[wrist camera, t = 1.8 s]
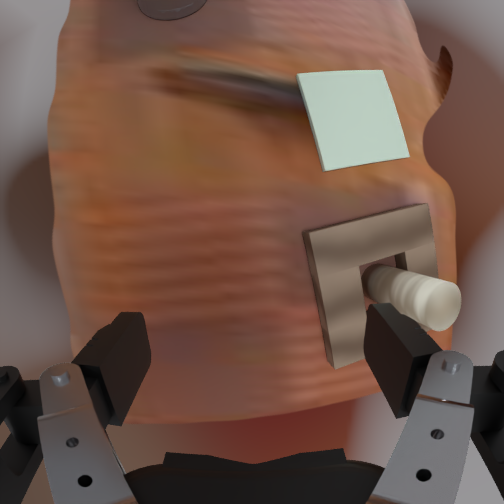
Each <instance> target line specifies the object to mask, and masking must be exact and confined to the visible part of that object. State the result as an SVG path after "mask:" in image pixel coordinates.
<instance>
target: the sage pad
mask: <svg viewBox="0 0 504 504" xmlns="http://www.w3.org/2000/svg"><path fill="white" fill-rule="evenodd" d="M296 79H297V82H298V85H299V88H300V92H301V95H302V98H303V101H304V105H305V108H306V111H307V115H308V118H309V122H310V125H311V129H312V132H313V136H314V140H315V143H316V147H317V151H318V155H319V159H320V162H321V166H322V170H323V172H325V171H331V170H336V169H342V168H347V167H353V166H359V165H364V164H370V163H376V162H383V161H389V160H395V159H402V158H408V157H410V156H409V152H408V149H407V145H406V141H405V138H404V134H403V131H402V127H401V124H400V120H399V117H398V114H397V111H396V108H395V104H394V101H393V98H392V95H391V93H390V90H389V87H388V84H387V81H386V78H385V76H384V73H383V70H349V71H327V72H312V73H300V74H297V75H296Z"/></svg>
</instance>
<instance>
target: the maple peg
mask: <svg viewBox="0 0 504 504" xmlns="http://www.w3.org/2000/svg"><path fill="white" fill-rule="evenodd" d="M361 283H362V289H363V293H364V295H365V296H366V297H368V298H370V299H372V300H374V301H376V302H378V303H391V304H392V305H393V306H394V307H395V308H396V309H397V310H398V311H399V312H400V313H401V314H404V315H406V316H408V317H410V318H412V319H414V320H415V321H417V322H419V323H421V324H423V325H425V326H427V327H429V328H431V329H433V330H436V331H442V330H445V329H447V328H448V327H450V326H451V325H452V324H453V322H454V321H455V319H456V318H457V316H458V314H459V311H460V307H461V293H460V291H459V288H458V287H457V286H456V285H455V284H454V283H452V282H448V281H444V280H440V279H437V278H433V277H429V276H425V275H421V274H418V273H414V272H410V271H406V270H402V269H398V268H394V267H391V266H387V265H383V264H373V265H371V266H369V267H368V268H367V269H366V270H365V272H364V273H363V275H362V278H361Z"/></svg>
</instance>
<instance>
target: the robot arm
mask: <svg viewBox="0 0 504 504" xmlns="http://www.w3.org/2000/svg"><path fill="white" fill-rule="evenodd" d="M137 2H138V5H139V8H140V10H141V11H142V12H143V13H144V14H145V15H147V16H149V17H151V18H154V19H160V20H172V19H178V18H182V17H185V16H188V15H190V14H192V13H194V12H195V11H197V10H199V9H200V8H201V7H202V6H203V5H204V3H205V2H206V0H137ZM86 345H87V346H85V347H84V348H83V349H82V350H81V351H80V353H79V354H78V355H77V356H76V357H75V359H74V360H73V361H72V362H71V363H60V364H56V365H53V366H51V367H49V368H47V369H46V370H45V371H44V372H43V373H42V374H41V376H40V379H39V380H26V381H24V380H23V379H22V377H21V375H20V373H19V370H18V369H17V368H16V367H13V366H3V367H0V425H1V423H2V422H3V420H4V422H5V423H6V425H7V427H8V428H9V430H10V432H11V434H10V435H9V437H8V438H7V440H6V441H5V443H4V444H3V446H2V448H1V449H0V504H21V502H22V500H23V498H24V496H25V494H26V492H27V489H28V488H29V485H30V483H31V481H32V479H33V477H34V475H35V473H36V471H37V469H38V467H39V465H40V463H41V461H42V460H43V458H44V462H45V467H46V471H47V476H48V480H49V484H50V488H51V492H52V495H53V499H54V502H55V504H454V502H455V499H456V495H457V492H458V488H459V484H460V481H461V477H462V473H463V468H464V464H465V459H466V455H467V450H468V445H469V440H470V437H471V439H472V441H473V443H474V444H475V446H476V448H477V450H478V451H479V453H480V455H481V457H482V459H483V461H484V462H485V464H486V466H487V468H488V470H489V472H490V474H491V475H492V478H493V480H494V481H495V483H496V485H497V487H498V489H499V491H500V493H501V495H502V497H503V499H504V350H503V351H500V352H498V353H497V354H496V356H495V358H494V361H493V364H492V366H473V363H472V361H471V360H470V359H469V358H468V357H467V356H466V355H464V354H462V353H459V352H456V351H451V350H444V351H443V350H442V349H441V348H440V347H439V346H438V344H437V343H436V342H435V341H434V340H433V339H432V338H431V337H430V336H429V335H427V332H426V331H425V330H424V329H423V328H422V329H421V326H420V325H419V324H418V323H417V322H416V321H415V320H414V319H412V318H410V317H408V316H406V315H404V314H400V312H399V311H398V310H397V309H396V308H395V307H394V306H393V305H392V304H391V303H379V304H370V305H369V307H368V311H367V319H366V328H365V336H364V344H363V349H364V356H365V359H366V361H367V363H368V365H369V367H370V369H371V370H372V372H373V374H374V376H375V378H376V380H377V382H378V384H379V386H380V388H381V390H382V392H383V393H384V396H385V397H386V399H387V401H388V403H389V405H390V407H391V409H392V411H393V413H394V415H395V417H396V419H397V418H402V417H406V416H409V417H408V419H407V422H406V424H405V427H404V429H403V431H402V434H401V436H400V438H399V441H398V443H397V445H396V447H395V449H394V451H393V453H392V456H391V458H390V460H389V462H388V464H387V466H386V468H383V467H381V466H378V465H375V464H371V463H367V462H362V461H355V460H346V457H345V453H344V450H343V448H341V449H333V450H325V451H317V452H306V453H299V454H295V455H291V456H288V457H284V458H280V459H276V460H272V461H268V462H263V463H258V464H248V463H243V462H238V461H232V460H228V459H223V458H218V457H214V456H209V455H197V454H181V453H170V452H166V454H165V458H164V461H163V464H157V465H151V466H147V467H143V468H139V469H137V470H134V471H131V472H129V473H127V474H126V472H125V471H124V468H123V466H122V464H121V462H120V460H119V458H118V456H117V454H116V452H115V450H114V448H113V446H112V443H111V441H110V439H109V437H108V434H107V432H106V430H105V429H106V427H107V425H108V424H110V425H116V426H122V424H123V422H124V419H125V417H126V415H127V413H128V411H129V409H130V406H131V404H132V402H133V400H134V398H135V396H136V394H137V391H138V389H139V387H140V385H141V383H142V381H143V379H144V377H145V375H146V373H147V371H148V368H149V366H150V363H151V349H150V345H149V340H148V335H147V330H146V325H145V320H144V316H143V314H142V313H141V312H121V313H120V314H119V315H118V316H117V317H116V318H115V319H114V321H113V322H112V323H111V324H108V325H107V326H105V327H103V328H102V329H100V330H98V331H97V333H96V334H95V335H94V336H93V337H92V340H90V341H89V342H88V343H87V344H86Z"/></svg>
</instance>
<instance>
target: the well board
mask: <svg viewBox="0 0 504 504" xmlns="http://www.w3.org/2000/svg"><path fill="white" fill-rule="evenodd" d="M302 234H303V238H304V243H305V247H306V252H307V257H308V261H309V266H310V271H311V276H312V280H313V285H314V290H315V295H316V300H317V306H318V311H319V316H320V321H321V327H322V332H323V338H324V343H325V349H326V355H327V360H328V362H329V363H330V364H331V366H332V367H333V368H334V369H338V368H340V367H343V366H346V365H349V364H351V363H354V362H357V361H359V360H362V359H364V358H365V356H364V349H363V344H364V336H365V328H366V319H367V311H366V309H365V302H364V295H363V289H362V283H361V277H360V271H359V266H360V265H364V264H367V263H370V262H373V261H377V260H380V259H383V258H386V257H389V256H392V255H395V260H396V266H397V268H398V269H402V270H406V271H410V272H414V273H418V274H421V275H425V276H429V277H433V278H437V279H438V269H437V260H436V251H435V244H434V236H433V230H432V223H431V217H430V212H429V206H428V203H424V204H414V205H410V206H406V207H402V208H398V209H394V210H390V211H386V212H382V213H377V214H373V215H369V216H365V217H361V218H357V219H353V220H349V221H345V222H341V223H337V224H333V225H329V226H325V227H321V228H317V229H313V230H309V231H305V232H302ZM400 314H401V313H400ZM416 322H417V321H416ZM417 323H418V324H419V325H420V326H421V329H422V328H423V329H424V330H425V331H426V332H427V331H429V330H431V328H429V327H427V326H425V325H423V324H421V323H419V322H417Z"/></svg>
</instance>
